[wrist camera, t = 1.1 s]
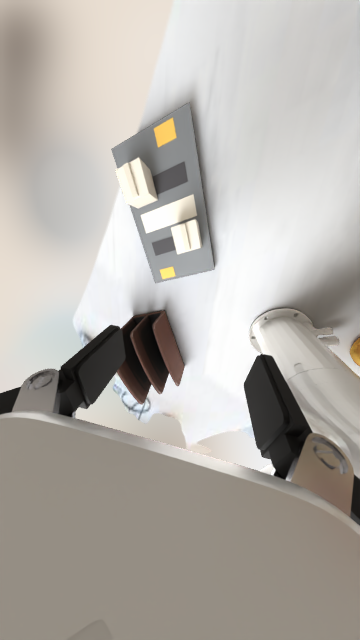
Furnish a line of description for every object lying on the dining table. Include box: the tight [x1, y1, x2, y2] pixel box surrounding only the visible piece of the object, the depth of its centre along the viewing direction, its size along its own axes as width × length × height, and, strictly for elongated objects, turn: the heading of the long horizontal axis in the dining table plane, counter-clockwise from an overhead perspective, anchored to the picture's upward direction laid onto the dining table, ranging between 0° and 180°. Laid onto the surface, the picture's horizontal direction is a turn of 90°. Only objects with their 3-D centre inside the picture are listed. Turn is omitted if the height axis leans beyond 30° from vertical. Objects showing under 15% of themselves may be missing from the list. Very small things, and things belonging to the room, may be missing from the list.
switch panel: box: [111, 103, 214, 283], centre depth 27 cm, size 13×22×2 cm, turn 15°
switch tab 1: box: [115, 158, 158, 208], centre depth 23 cm, size 4×4×5 cm
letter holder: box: [117, 311, 184, 404], centre depth 37 cm, size 10×20×14 cm, turn 17°
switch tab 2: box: [171, 219, 202, 254], centre depth 25 cm, size 4×4×5 cm
